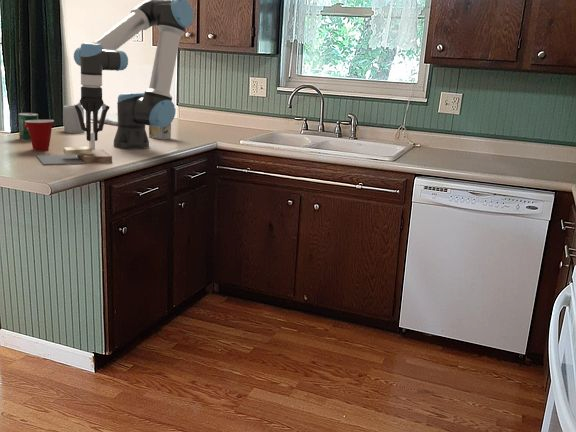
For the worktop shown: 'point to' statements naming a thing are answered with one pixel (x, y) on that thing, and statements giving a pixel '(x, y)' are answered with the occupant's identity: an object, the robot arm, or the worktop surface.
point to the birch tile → (77, 151)
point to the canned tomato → (25, 125)
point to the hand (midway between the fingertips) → (92, 149)
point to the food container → (107, 117)
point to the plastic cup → (40, 133)
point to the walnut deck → (96, 157)
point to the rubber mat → (59, 159)
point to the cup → (72, 120)
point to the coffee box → (160, 132)
